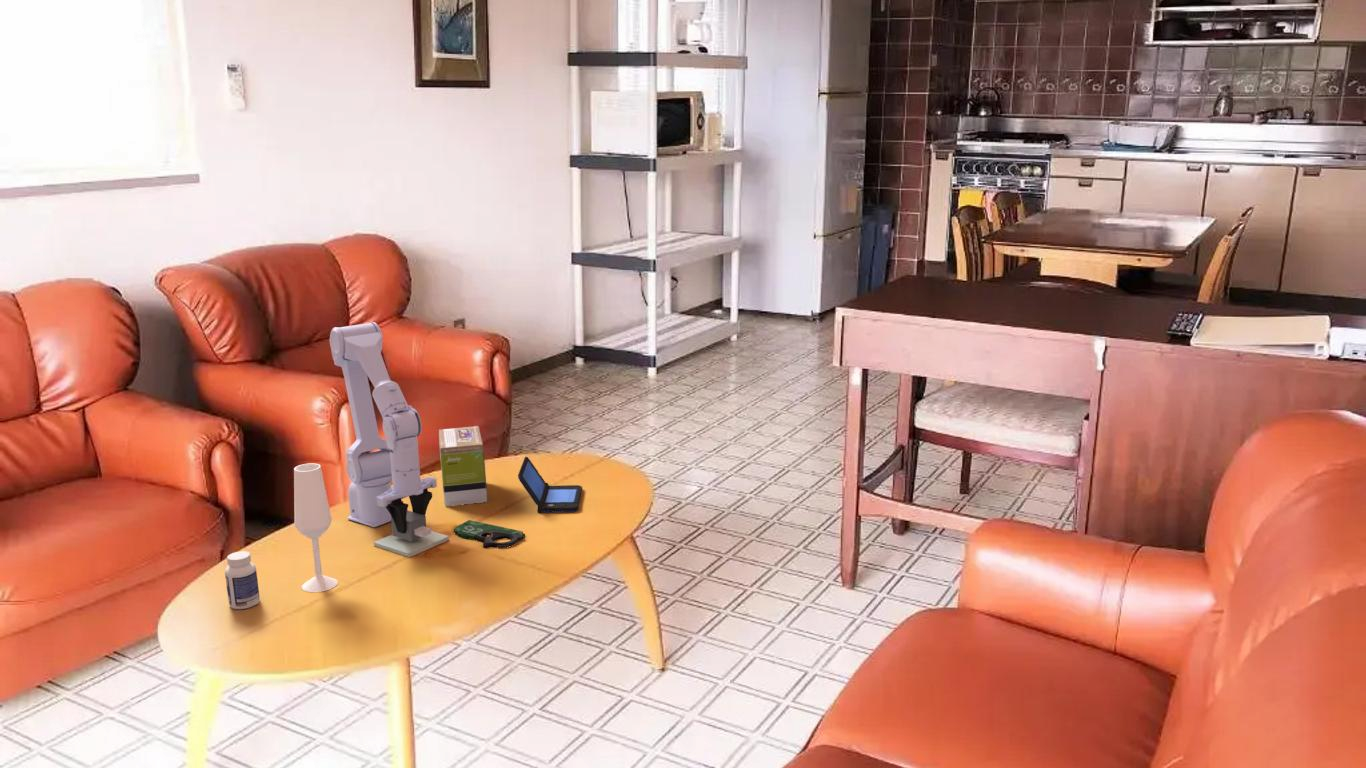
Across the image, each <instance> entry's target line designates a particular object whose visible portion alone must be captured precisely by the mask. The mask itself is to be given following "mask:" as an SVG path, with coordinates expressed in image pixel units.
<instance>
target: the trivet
mask: <svg viewBox="0 0 1366 768" xmlns="http://www.w3.org/2000/svg"><path fill="white" fill-rule="evenodd" d="M449 540H450V537H449V535H446V534H443V533H439V532H436V531H434V530H431V534H429V535H427V536H424V537H421V538H419V539H417V540H414V541H412V542H411V541H408V540H405V539H402V538H399V537H395V536H392V534H390V535H388V536H385V537H383V538H380V539H378V540H376V541H373V547H377V548H380V549H383V550H386V551H389V552H392V553H395V554H399V555H402V556H405V557H408V558H410V557H411V558H412V557H413V556H415V555H418V554H420V553H423V552H424V551H427V550H429V549H431V548H433V547H436V546H438V545H440V544H443V543H445V542H447V541H449Z"/></svg>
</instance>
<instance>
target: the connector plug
mask: <svg viewBox="0 0 1366 768" xmlns="http://www.w3.org/2000/svg"><path fill="white" fill-rule="evenodd" d="M406 523H407V529H406V533H404V534H403V533H400V532H397V529H396V526H395V523H394V521H393V518H392V516H391V521H390V524H391V535H392V536H395V537H399V538H402V539H405V540H408V541H411V542H412V541H414V540H417V539H419V538H421V537H424V536H427V535H429V534H431V531H432V528H431V527H429V526H427V517H426V514H425V515H422V514H418V513H415V512H413V511H411V510H408V509H407V515H406Z"/></svg>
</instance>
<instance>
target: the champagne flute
mask: <svg viewBox="0 0 1366 768" xmlns="http://www.w3.org/2000/svg"><path fill="white" fill-rule="evenodd" d="M293 479H294V480H293V488H294V489H293V490H294V491H293V492H294V494H293V495H294V496H293V497H294V500H293V501H294V502H293V503H294V504H293V505H294V508H293V509H294V514H293V515H294V527H295V528H296V530H297V531H298V532H299V533H300V534H301V535H302V536H305V537H306V538H308V539H311V543H312V553H313V554H312V555H313V562H314V573H315V576H313V577H312V578H310V579H309V580H307V581H306V582H304V583H303V584H302V586H301V589H302V591H304V592H306V593H307V592H308V593H320V592H325V591H330V590H331V589H333V588H335V587H336V586H337V585H338V583H339V582H338V580H337V579H336V578H333V577H330V576H327V575H324V574H323V571H322V562H321V553H320V552H321V551H320V543H319V538H321V537H322V536H323V535H324V534H325V533H326V531H327V530H328V529H329V527H330V526H331V524H332V520H333V519H332V515H331V511H330V505H329V500H328V496H327V490H326V485H325V481H324V477H323V471H322V468H321V464H319V463H312V462H311V463H304V464H299V465H297V466H295V467H294V468H293Z"/></svg>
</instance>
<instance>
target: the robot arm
mask: <svg viewBox="0 0 1366 768" xmlns="http://www.w3.org/2000/svg"><path fill="white" fill-rule="evenodd" d="M383 337H384V336H383V333H382V329H381V328H380V326H379V325H378V323H376V322H375V321H370V322H368V323H361V324H355V325H353V324H352V325H347V326H342V327H341V326H340V327H338V326H337V327H336V326H335V327H333V328H331V331H330V335H329V345H330V350H331V357H332V360H333V362H334V365H335V366H337V367H341V370H342V375H343V378H344V384H345V388H346V393H347V399H348V404H349V408H350V414H351V417H352V424H353V428H354V433H355V434H354V435H355V439H356V440H354V442H353V444H351V445H350V447H349V448H348V449H347V450H346V452H345V456H346V472H347V475H348V478H349V479H350V481H351V482H350V484H349V487H348V492H347V493H348V501H349V502H348V504H349V511H350V512H349V513H350V515H349V516H347V520H350V521H352V522H356V523H358V524H359V523H360V524H363V525H366V526H368V527H373V528H377V527H380V526H381V525H384V524H386V523H389V522H390V523H391V516H392V518H393V521H394V523H395V526H396V529H397V532H400V533H403V534H404V533H406V529H407V523H406V515H407V510H408V508H409V504H408V503H405V502H404V501H403V499H406V498H408V499H409V502H410V505H411V510H412V511H411V512H415V513H418V514H422V515H425V516H426V513H427V509H428V507H429V504H430V501H431V500H432V499H433V492H432V491H429V489H435V488H437V487H438V486H437V484H438V483H437V478H435V477H432V476H428V477H425V478H422V479H421V471H420V455H419V443H418V437H419V436H420V435H421V434H422V428H423V427H422V421H421V417H420V415H419V412H418V411H417V409H415V408H413V406H412V405H411V404H408V402H407V401H406V397H404V396H405V395H404V394H403V392H402V390H401V387H400V386H399V383H397V382H395V381H394V380H393V381H392V380H391V378H390V375H389V372H388V369H387V368H386V364H385V361H384V359H383V355H382V350H383V343H384V342H383ZM369 381H370V382H371V384H372V386H373V391H372V393H371V387H370V383H369ZM373 400H374V402H375V405H376V406H377V409H378V411H379V413H380V415H381V417H382V425H381V426H382V430H383V435H384V437H385V438H382V437H381V436H380V433H379V429H378V423H377V418H376V413H375V410H374V409H375V407H374V404H373ZM376 450H377V451H376ZM371 451H373V452H371ZM366 452H367V453H366ZM362 453H363V454H362ZM391 481H392V483H391Z"/></svg>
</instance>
